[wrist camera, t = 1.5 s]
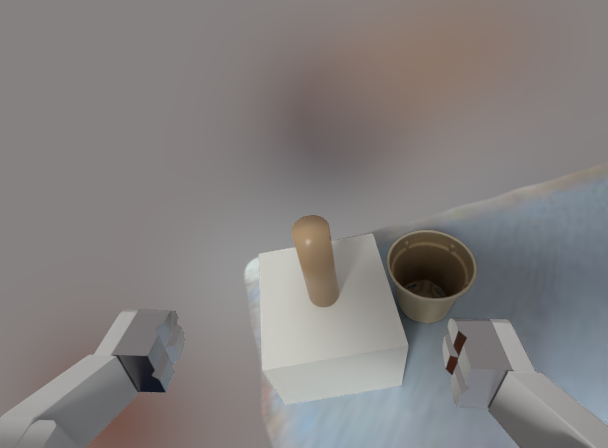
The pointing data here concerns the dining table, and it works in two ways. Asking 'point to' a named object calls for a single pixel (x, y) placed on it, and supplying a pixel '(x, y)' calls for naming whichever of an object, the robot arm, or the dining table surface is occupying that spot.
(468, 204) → the dining table surface
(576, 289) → the dining table surface
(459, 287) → the flower pot
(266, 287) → the white handled block
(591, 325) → the dining table surface
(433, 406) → the dining table surface
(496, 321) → the robot arm
